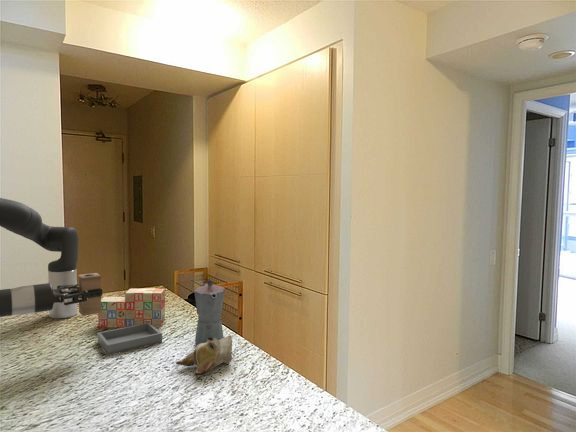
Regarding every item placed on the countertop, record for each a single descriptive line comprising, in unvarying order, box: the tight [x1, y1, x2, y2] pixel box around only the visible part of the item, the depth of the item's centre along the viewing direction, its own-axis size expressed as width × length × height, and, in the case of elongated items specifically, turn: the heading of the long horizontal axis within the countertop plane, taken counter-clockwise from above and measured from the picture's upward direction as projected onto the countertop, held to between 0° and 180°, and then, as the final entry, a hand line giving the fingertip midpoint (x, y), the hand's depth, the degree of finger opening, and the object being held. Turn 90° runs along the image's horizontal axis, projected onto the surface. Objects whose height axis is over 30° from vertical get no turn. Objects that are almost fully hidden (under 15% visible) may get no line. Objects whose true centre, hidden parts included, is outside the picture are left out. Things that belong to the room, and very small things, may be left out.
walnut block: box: [77, 272, 102, 317], centre depth 114 cm, size 5×5×11 cm
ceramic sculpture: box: [175, 334, 233, 377], centre depth 106 cm, size 11×9×15 cm
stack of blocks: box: [97, 287, 166, 328], centre depth 138 cm, size 21×6×12 cm, turn 95°
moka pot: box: [194, 280, 226, 346], centre depth 123 cm, size 10×15×20 cm, turn 27°
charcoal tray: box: [96, 323, 163, 356], centre depth 122 cm, size 12×16×3 cm
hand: (99, 290), depth 116 cm, fingers closed on walnut block, 5 cm apart
